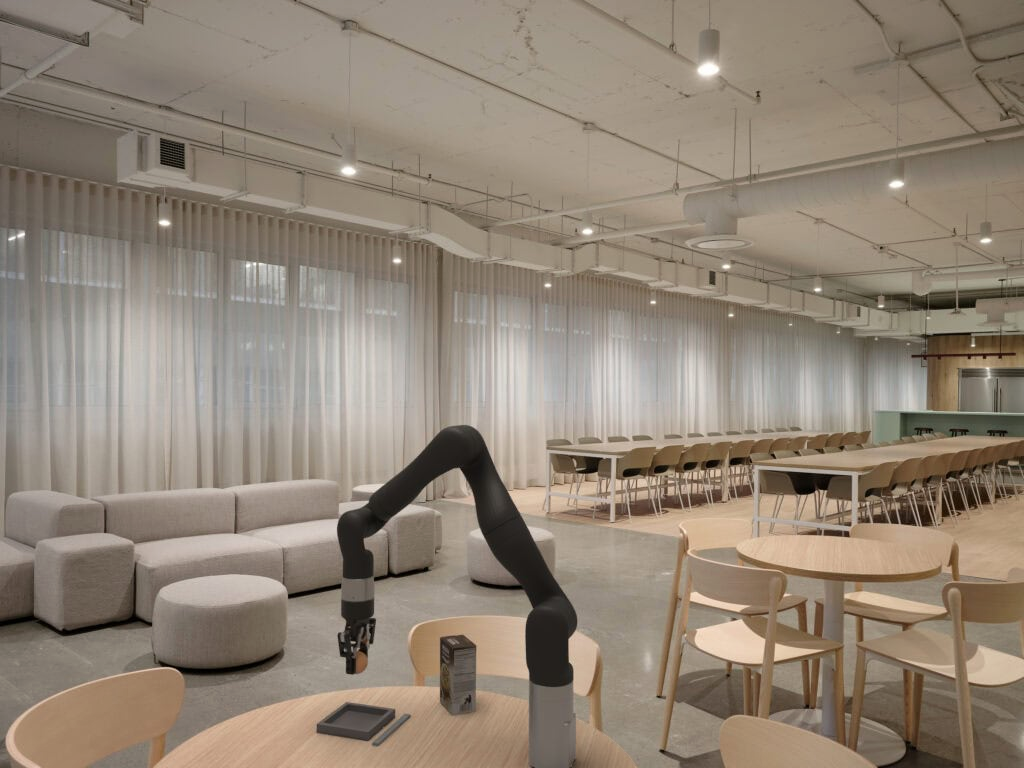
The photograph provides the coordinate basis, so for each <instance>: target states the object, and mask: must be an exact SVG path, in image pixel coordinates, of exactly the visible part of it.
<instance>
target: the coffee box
mask: <svg viewBox="0 0 1024 768" xmlns="http://www.w3.org/2000/svg"><path fill="white" fill-rule="evenodd" d="M476 692H477V644H475V643H474V642H473V641H471V640H470V638H469V637H467V636H465V634H457V635H453V634H452V635H445V636H440V637H439V702H440V704H441V705H442V706H443V707H444V708H445V709H446V711H448V712H449V714H450V715H451V716H458V715H462V714H468V713H474V712H476V710H477V709H476V705H477V704H476V703H477V702H476V697H477V695H476V694H477V693H476Z"/></svg>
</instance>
